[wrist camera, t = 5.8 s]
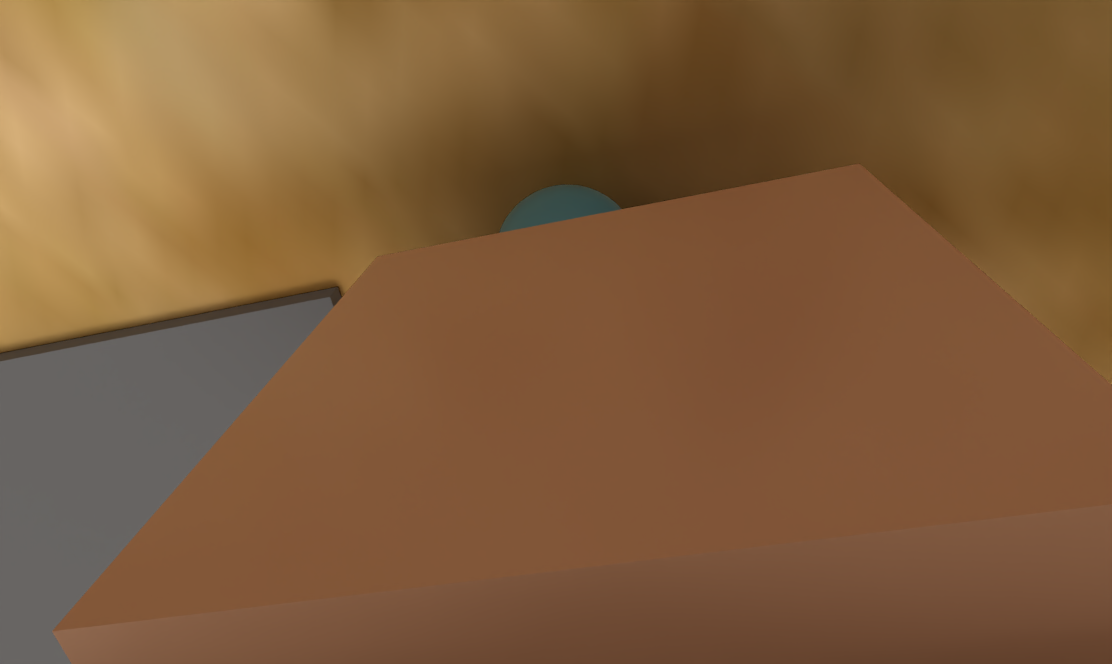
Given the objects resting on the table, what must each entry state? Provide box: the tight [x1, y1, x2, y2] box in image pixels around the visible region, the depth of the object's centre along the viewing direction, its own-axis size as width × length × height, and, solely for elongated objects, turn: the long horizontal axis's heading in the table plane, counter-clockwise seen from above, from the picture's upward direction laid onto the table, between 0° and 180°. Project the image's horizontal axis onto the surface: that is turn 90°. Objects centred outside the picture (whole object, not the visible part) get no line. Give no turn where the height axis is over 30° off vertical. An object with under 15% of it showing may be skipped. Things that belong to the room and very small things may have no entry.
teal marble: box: [499, 184, 621, 233], centre depth 17 cm, size 3×3×3 cm
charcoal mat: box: [0, 287, 341, 664], centre depth 23 cm, size 14×14×1 cm
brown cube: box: [52, 163, 1112, 664], centre depth 10 cm, size 7×7×8 cm
